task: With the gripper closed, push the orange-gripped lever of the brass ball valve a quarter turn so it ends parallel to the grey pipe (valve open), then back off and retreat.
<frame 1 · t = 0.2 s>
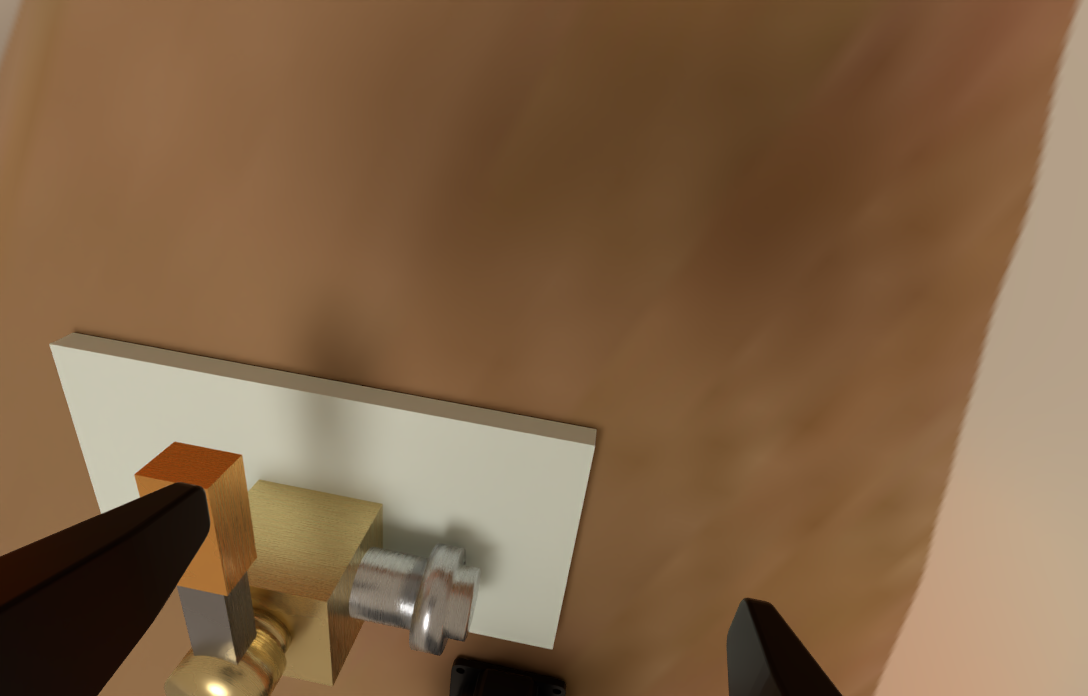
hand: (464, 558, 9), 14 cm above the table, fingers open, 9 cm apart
lever: (212, 602, 19), point 9 cm above the table, hinge at 0.0°
valve: (334, 515, 28), resting on board
board: (333, 492, 28), on the table
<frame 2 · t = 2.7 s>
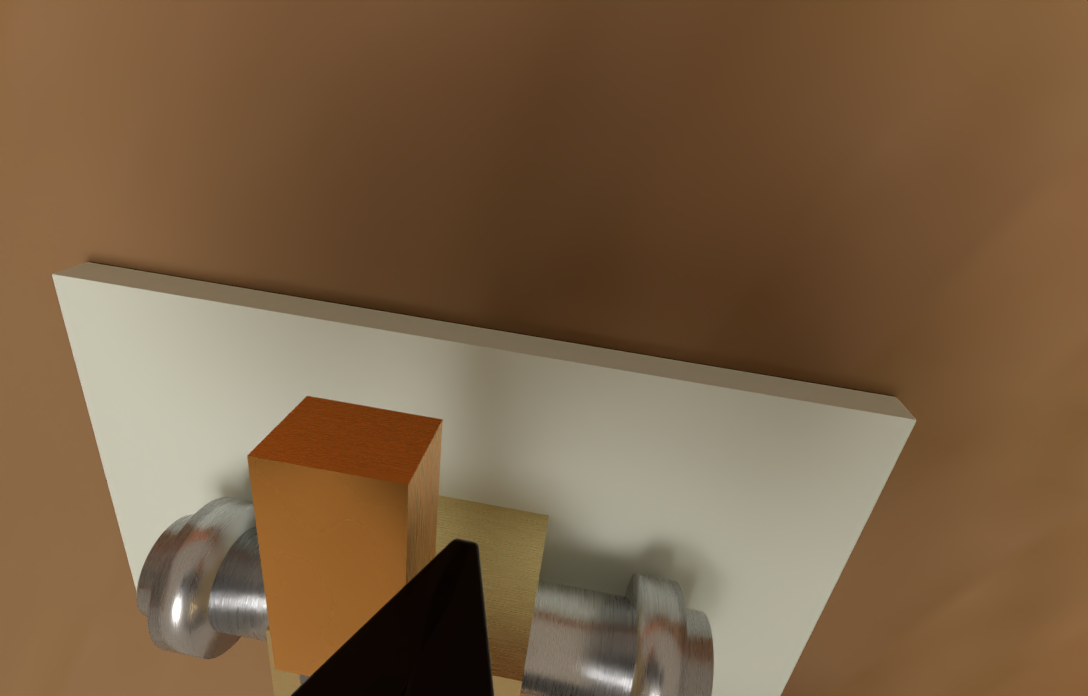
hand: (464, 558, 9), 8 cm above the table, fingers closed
valve: (459, 532, 20), resting on board
board: (462, 499, 19), on the table
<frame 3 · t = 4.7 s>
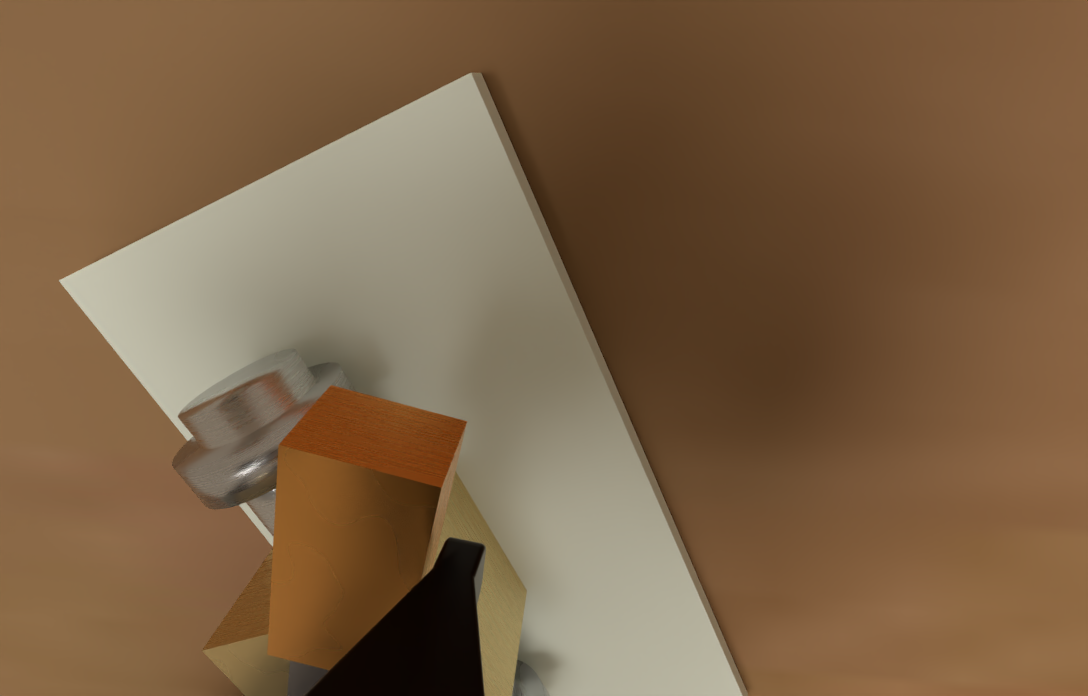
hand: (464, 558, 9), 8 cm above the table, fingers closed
lever: (339, 684, 10), point 8 cm above the table, hinge at 52.0°, touching gripper
valve: (429, 520, 20), resting on board
board: (466, 509, 20), on the table
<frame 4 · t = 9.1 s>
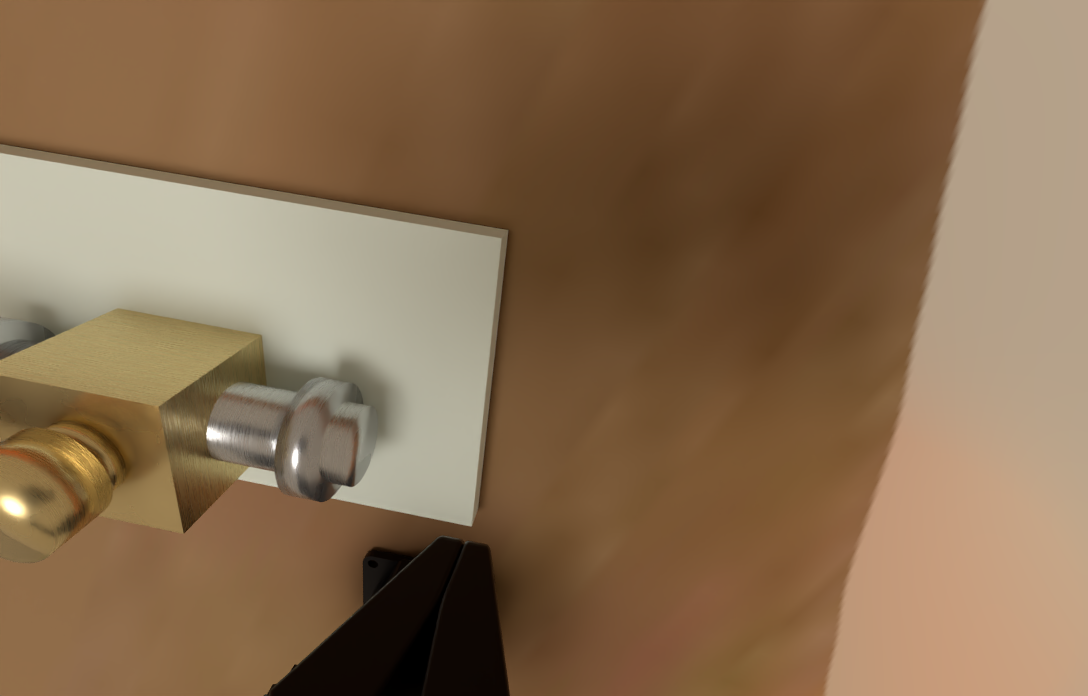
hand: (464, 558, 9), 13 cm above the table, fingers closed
valve: (217, 365, 24), resting on board
board: (212, 334, 24), on the table
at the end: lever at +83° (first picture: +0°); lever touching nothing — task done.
